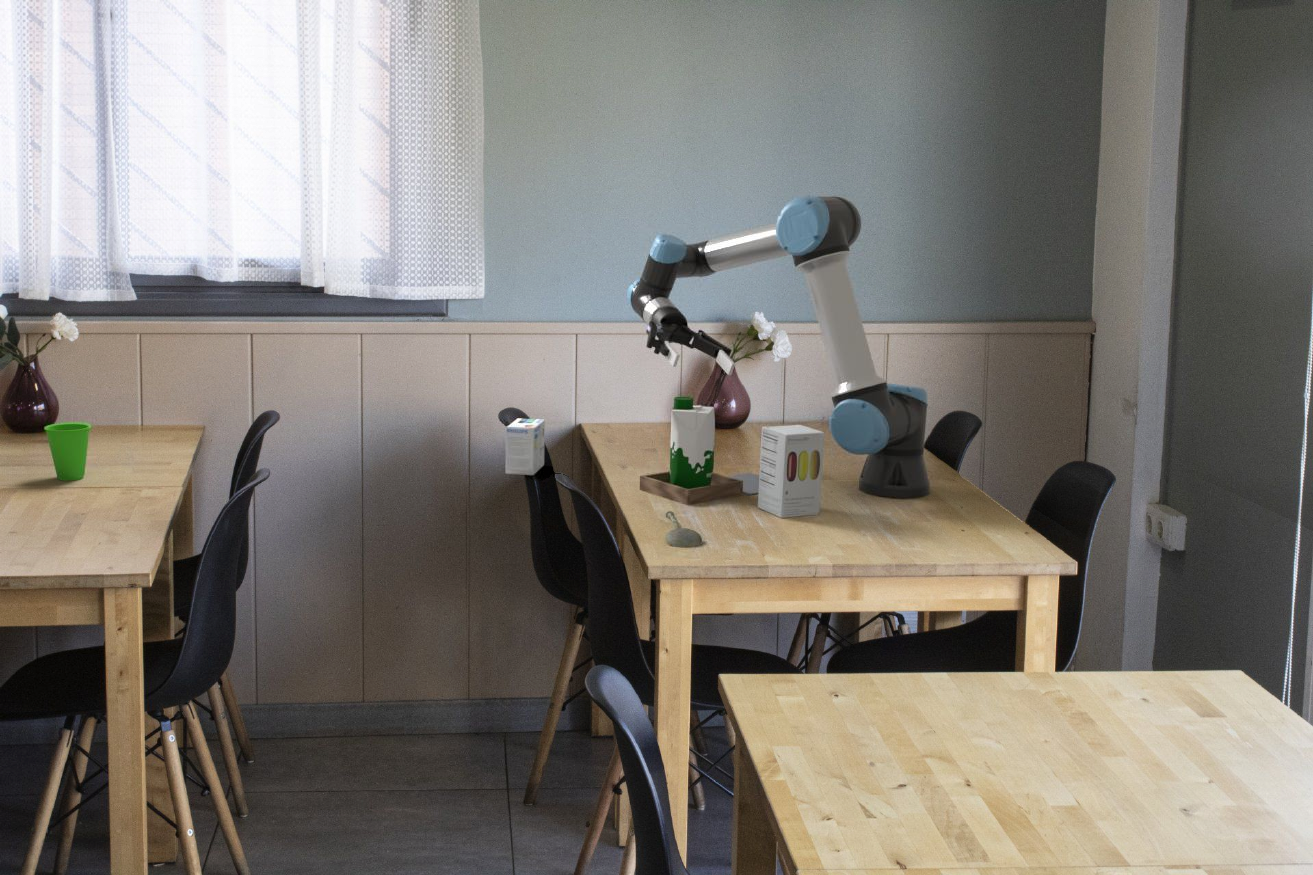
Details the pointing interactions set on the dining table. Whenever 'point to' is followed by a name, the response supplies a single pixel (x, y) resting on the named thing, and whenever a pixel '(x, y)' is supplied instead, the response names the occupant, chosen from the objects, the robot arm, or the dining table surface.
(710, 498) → the walnut frame
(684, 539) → the soupspoon
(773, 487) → the supplement box
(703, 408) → the soya milk
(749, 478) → the rubber mat
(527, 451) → the light bulb box
